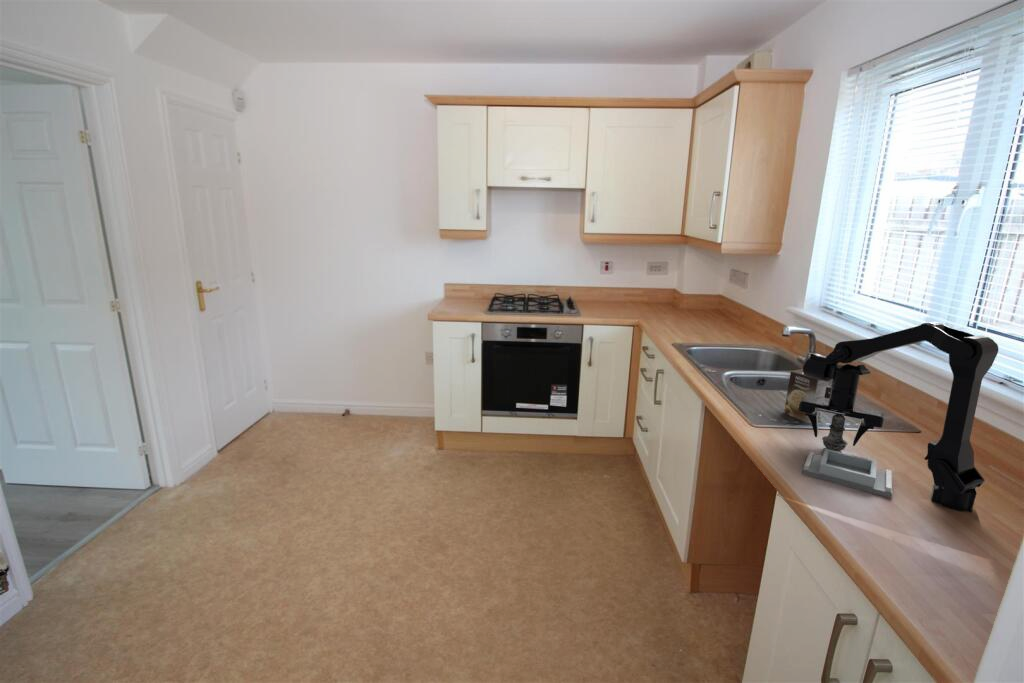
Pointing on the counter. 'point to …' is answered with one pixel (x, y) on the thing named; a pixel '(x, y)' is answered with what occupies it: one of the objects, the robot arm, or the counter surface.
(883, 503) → the counter surface
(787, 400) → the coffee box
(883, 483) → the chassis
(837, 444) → the grey stone chess piece
